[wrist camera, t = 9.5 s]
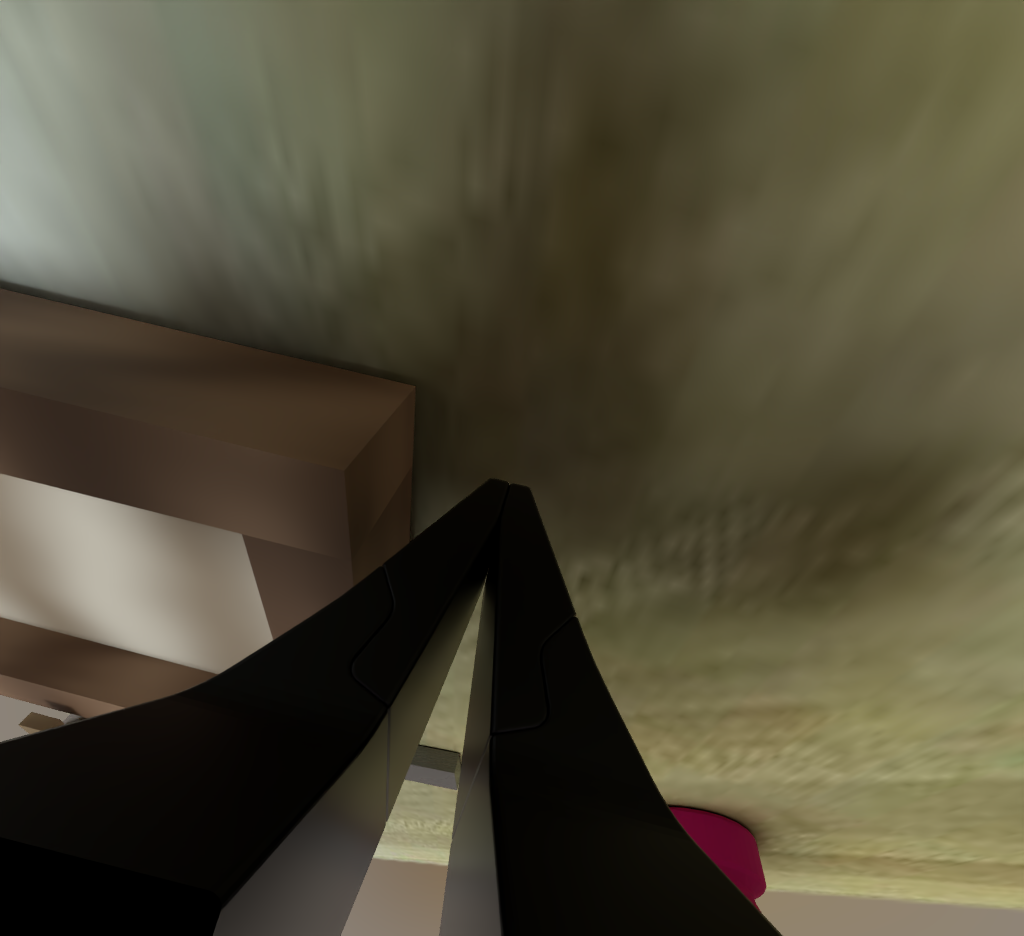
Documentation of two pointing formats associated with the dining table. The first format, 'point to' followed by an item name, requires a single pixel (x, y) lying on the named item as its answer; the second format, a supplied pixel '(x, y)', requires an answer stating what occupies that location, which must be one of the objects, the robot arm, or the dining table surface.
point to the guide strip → (435, 768)
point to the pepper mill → (726, 848)
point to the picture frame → (177, 502)
